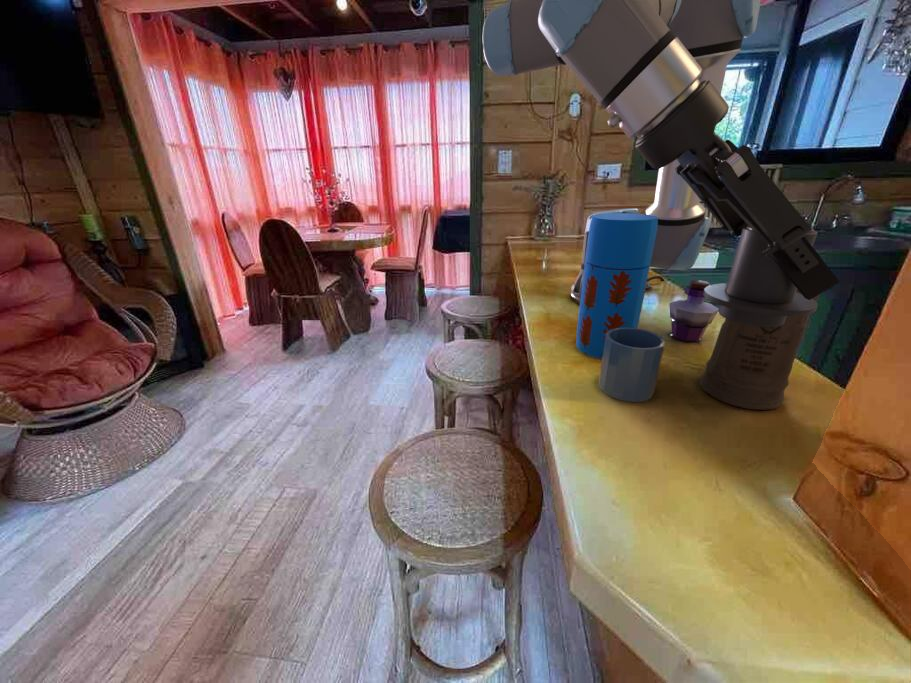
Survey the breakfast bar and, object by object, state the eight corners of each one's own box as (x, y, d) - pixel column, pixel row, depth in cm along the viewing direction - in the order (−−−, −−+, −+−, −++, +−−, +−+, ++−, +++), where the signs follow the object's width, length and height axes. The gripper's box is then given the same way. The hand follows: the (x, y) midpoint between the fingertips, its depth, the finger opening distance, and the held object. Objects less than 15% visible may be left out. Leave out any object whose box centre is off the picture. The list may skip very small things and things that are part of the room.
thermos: (638, 362, 69) (667, 220, 58) (577, 357, 71) (595, 220, 60) (626, 338, 78) (649, 213, 68) (573, 335, 81) (587, 213, 70)
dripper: (705, 298, 49) (726, 219, 45) (806, 313, 43) (841, 225, 39) (691, 321, 42) (715, 230, 38) (810, 343, 36) (853, 238, 32)
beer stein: (797, 419, 52) (851, 277, 45) (708, 405, 56) (746, 271, 49) (757, 374, 66) (794, 259, 59) (687, 365, 69) (715, 256, 62)
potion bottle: (708, 333, 80) (724, 278, 75) (711, 349, 73) (728, 289, 68) (663, 326, 84) (675, 274, 79) (661, 341, 77) (674, 284, 72)
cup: (608, 370, 66) (616, 323, 62) (658, 385, 61) (670, 335, 58) (591, 390, 60) (598, 340, 57) (645, 408, 56) (657, 354, 52)
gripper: (618, 147, 47) (730, 281, 50) (653, 135, 30) (818, 337, 33) (674, 94, 43) (790, 241, 46) (749, 47, 27) (923, 281, 30)
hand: (802, 281), depth 40 cm, fingers closed on dripper, 6 cm apart
